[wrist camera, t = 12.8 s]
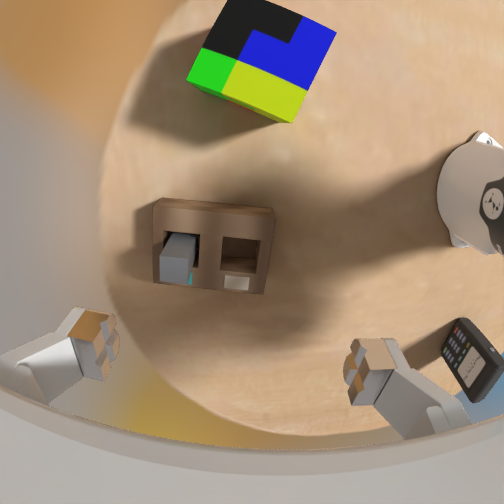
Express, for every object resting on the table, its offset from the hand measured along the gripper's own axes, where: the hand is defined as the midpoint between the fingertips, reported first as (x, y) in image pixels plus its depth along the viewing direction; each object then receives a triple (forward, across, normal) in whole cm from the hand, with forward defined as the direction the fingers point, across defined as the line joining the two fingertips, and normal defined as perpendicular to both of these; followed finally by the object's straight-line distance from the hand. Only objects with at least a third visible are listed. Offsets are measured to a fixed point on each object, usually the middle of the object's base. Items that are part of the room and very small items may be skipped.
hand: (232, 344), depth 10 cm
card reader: (+31, -43, +24) cm, 58 cm away
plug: (+29, +7, +9) cm, 31 cm away
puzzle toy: (+30, 0, -13) cm, 33 cm away
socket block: (+29, +4, +9) cm, 31 cm away
